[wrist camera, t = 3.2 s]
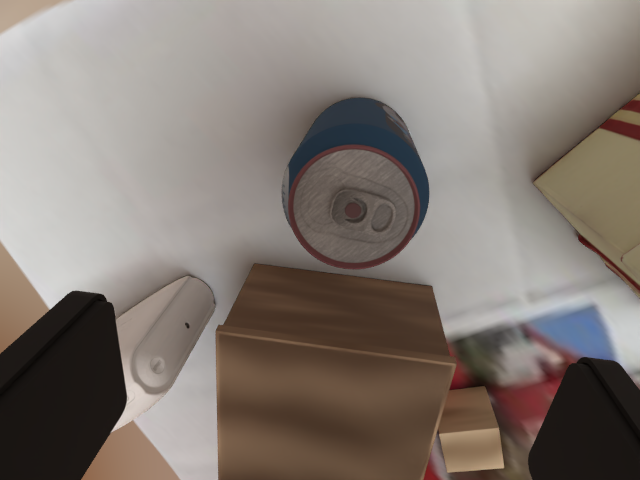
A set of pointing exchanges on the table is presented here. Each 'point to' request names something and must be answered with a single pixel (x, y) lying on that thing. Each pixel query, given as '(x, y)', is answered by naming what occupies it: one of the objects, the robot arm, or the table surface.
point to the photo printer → (160, 341)
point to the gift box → (603, 192)
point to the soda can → (356, 186)
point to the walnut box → (329, 378)
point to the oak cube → (470, 431)
